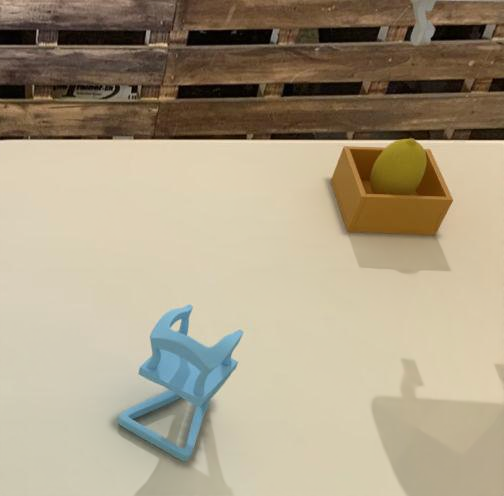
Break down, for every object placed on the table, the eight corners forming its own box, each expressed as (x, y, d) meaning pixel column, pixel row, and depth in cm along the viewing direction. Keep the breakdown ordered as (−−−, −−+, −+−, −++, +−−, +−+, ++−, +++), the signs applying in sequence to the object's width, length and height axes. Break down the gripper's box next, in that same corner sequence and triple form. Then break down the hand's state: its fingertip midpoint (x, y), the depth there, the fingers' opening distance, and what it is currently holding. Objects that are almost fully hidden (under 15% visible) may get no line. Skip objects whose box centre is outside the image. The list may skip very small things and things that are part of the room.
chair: (230, 413, 87) (265, 317, 77) (185, 463, 83) (216, 368, 74) (162, 377, 90) (188, 279, 80) (116, 423, 86) (137, 327, 76)
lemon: (375, 183, 109) (402, 120, 102) (416, 203, 107) (447, 140, 100) (351, 202, 107) (377, 138, 100) (392, 222, 104) (422, 159, 98)
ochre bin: (413, 184, 110) (430, 149, 106) (435, 235, 104) (453, 200, 100) (330, 180, 110) (343, 145, 106) (347, 231, 104) (361, 196, 101)
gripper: (639, -128, 82) (559, 30, 93) (412, -130, 83) (359, 27, 94) (668, -101, 78) (580, 60, 89) (430, -103, 79) (372, 57, 90)
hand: (465, 43), depth 92 cm, fingers open, 8 cm apart
